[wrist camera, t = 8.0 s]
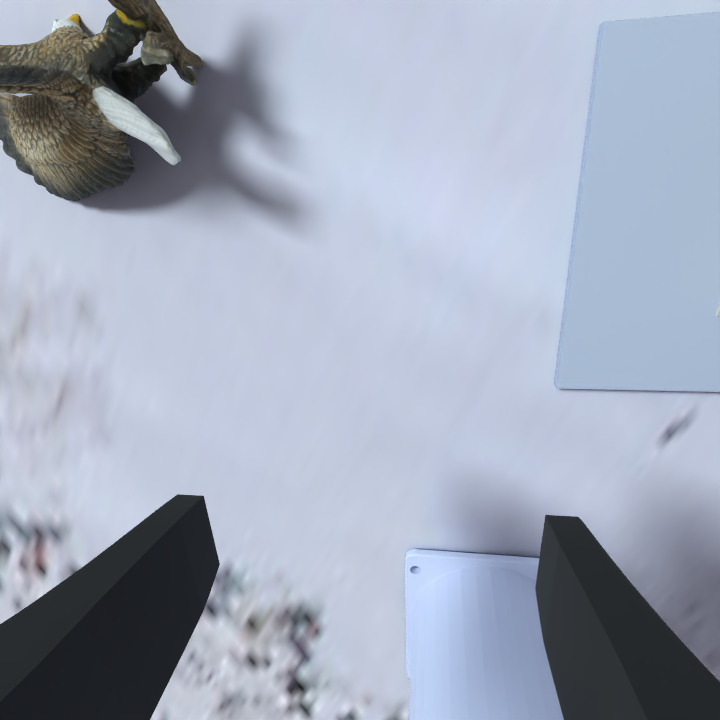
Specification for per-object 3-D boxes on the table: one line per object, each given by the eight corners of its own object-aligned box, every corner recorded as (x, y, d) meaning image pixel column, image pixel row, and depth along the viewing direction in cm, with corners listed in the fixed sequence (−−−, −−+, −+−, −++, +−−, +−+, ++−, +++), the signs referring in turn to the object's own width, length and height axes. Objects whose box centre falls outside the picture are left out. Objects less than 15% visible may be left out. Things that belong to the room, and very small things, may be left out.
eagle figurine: (95, -170, 13) (-173, -32, 14) (55, -128, 9) (-324, 65, 10) (231, 96, 20) (36, 182, 20) (245, 196, 15) (-1, 299, 16)
